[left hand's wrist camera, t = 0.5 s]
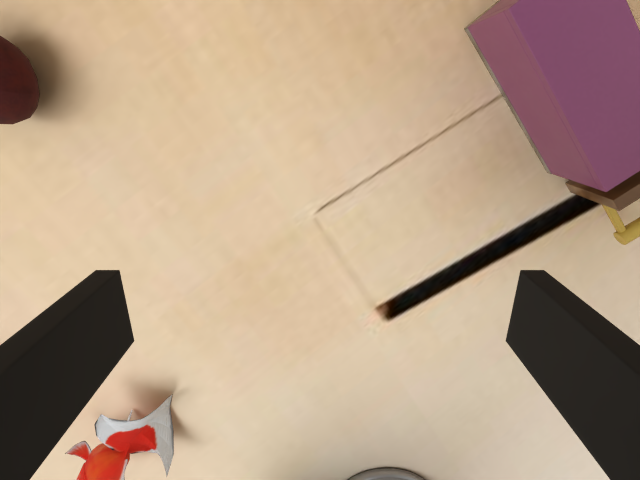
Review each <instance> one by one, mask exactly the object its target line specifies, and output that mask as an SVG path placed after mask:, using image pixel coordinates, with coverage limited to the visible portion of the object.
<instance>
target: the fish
mask: <svg viewBox="0 0 640 480" xmlns="http://www.w3.org/2000/svg"><path fill="white" fill-rule="evenodd" d="M172 395H173V394H172ZM172 395H171V396H170V397H168V398H167V399H166V400H165V401H164V402H163V403H162V404H161V405H160V406H159V407H158V408H157V409H156V410H154V411H153V412H152V413H150V414H149V415H147V416H146V417H144V418H143V419H139V420H134V421H130V418H131V414H132V411H131V413H130V415H129V417H128V420H127V421H123V420H115V419H110V418H107V417H105V416H104V415H102V414H101V415H100V417H99V418H98V420H97V421H96V423H95V430H96V436H97V437H98V438H99V440H100V441H101V442H102V444H100V445H98V446H97V447H96V448H94V449H93V450H92V451H91V449H90V447H89V445H88V444H87V442H86V441H82V442H80V443H78V444H76V445H74V446H73V447H72V448H71V449H70V450H69V451H68V452H66V453H67V454H71V455H76V456H79V457H81V458H83V459H84V460H86V462H85V463H84V464H83V466H82V469H81V471H80V473H79V475H78V478H77V480H124V472H125V468H126V466H127V464H128V462H129V459H130V454H129V453H131V454H133V453H139V452H146V451H147V452H152V453H157V454H158V455H159V456H160V457H161V459H162V461H163V464H164V467H165V471H166V476H167V475H168V471H169V468H170V465H171V461H172V458H173V454H174V446H173V426H172V419H171V411H170V404H171V399H172ZM66 453H65V454H66Z"/></svg>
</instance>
